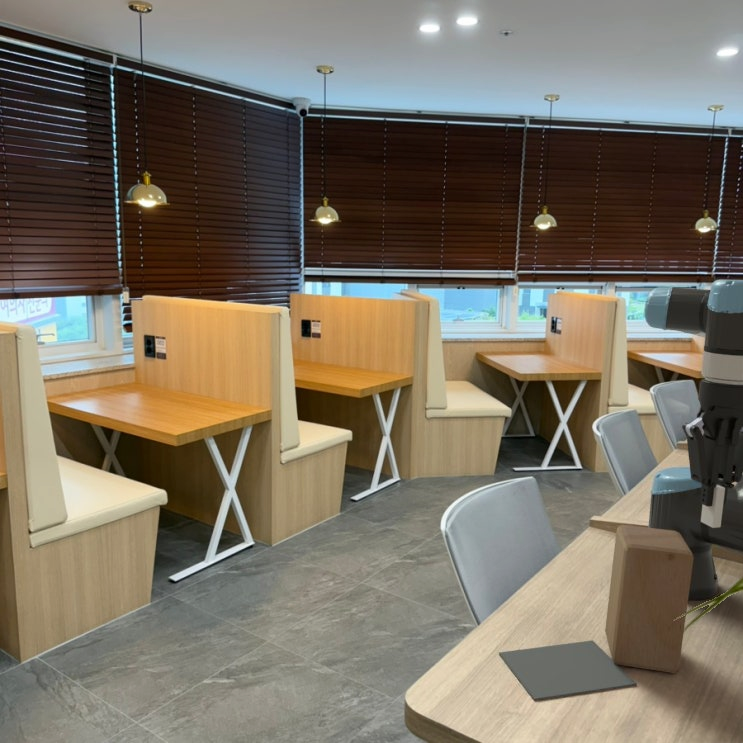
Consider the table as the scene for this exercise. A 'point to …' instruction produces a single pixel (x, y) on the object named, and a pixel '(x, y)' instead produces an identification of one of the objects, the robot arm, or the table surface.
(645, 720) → the table surface
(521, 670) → the mat
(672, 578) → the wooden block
